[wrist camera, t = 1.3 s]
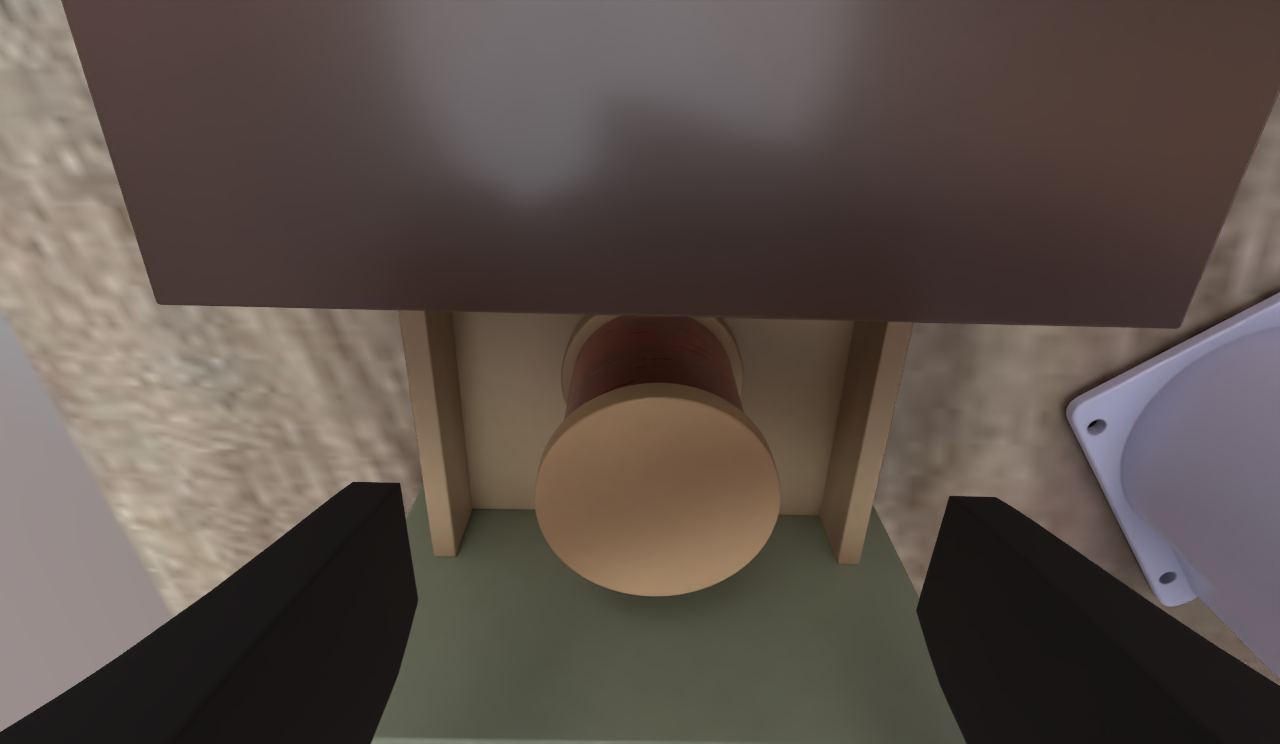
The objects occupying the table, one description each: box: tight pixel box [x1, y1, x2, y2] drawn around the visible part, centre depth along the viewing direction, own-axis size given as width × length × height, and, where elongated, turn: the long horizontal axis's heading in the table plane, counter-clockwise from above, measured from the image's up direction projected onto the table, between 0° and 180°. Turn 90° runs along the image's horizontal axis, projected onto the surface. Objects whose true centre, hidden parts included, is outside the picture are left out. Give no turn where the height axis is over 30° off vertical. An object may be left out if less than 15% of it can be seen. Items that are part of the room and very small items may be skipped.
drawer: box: [371, 310, 966, 744], centre depth 16 cm, size 18×14×8 cm
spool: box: [534, 315, 781, 596], centre depth 15 cm, size 5×5×6 cm
